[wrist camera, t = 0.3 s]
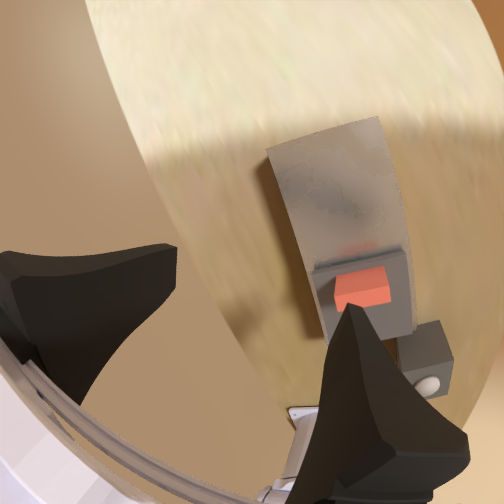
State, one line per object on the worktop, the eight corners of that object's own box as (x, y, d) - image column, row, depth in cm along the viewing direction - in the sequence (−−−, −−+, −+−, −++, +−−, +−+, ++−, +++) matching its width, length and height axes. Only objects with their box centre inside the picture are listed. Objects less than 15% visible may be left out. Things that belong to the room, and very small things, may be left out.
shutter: (411, 328, 16) (418, 357, 13) (331, 342, 18) (327, 372, 16) (404, 250, 14) (415, 272, 12) (312, 270, 17) (305, 294, 14)
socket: (411, 312, 18) (417, 329, 16) (329, 327, 21) (326, 346, 19) (373, 120, 15) (378, 116, 12) (275, 148, 17) (265, 149, 15)
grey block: (437, 353, 19) (448, 397, 14) (397, 362, 20) (401, 408, 16) (439, 319, 18) (455, 363, 13) (395, 329, 19) (402, 376, 15)
